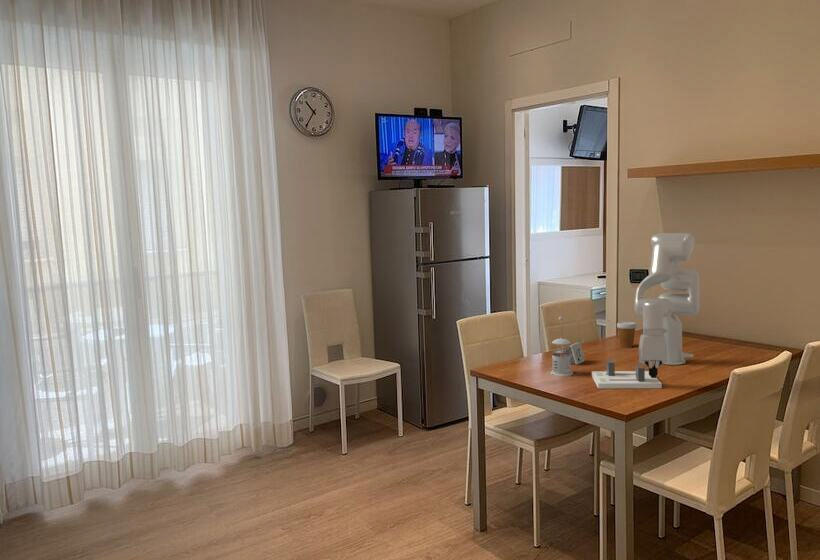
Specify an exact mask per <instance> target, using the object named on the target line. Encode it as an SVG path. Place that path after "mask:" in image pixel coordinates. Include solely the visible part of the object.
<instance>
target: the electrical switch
mask: <svg viewBox="0 0 820 560" xmlns="http://www.w3.org/2000/svg"><path fill="white" fill-rule="evenodd" d="M565 350H569V351H570V352H569V353H568V354H570V355H571V365H573V364H575V365H576V366H577V365H578V366H579V365H580V364H582V363H584V362H585V361H586V357H585V354H584V351H583V347H582V344H581V342H580V341H576V342H575V343H573V344H569V346H567V347H565Z"/></svg>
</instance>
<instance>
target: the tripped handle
mask: <svg viewBox="0 0 820 560" xmlns="http://www.w3.org/2000/svg"><path fill="white" fill-rule="evenodd" d="M635 371H636V379H637V380H638V381H645V371H646V369H645V367H644V366H643V364H635Z"/></svg>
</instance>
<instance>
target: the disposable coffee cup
mask: <svg viewBox="0 0 820 560" xmlns="http://www.w3.org/2000/svg"><path fill="white" fill-rule="evenodd" d="M616 327H617V331H618V333H617V334H618V340H619V347H621V346H623V347H622V348H626V347H629V348H633V347H634V343H635V334H636V327H637V323H636V322H634V321H619V322H617V324H616ZM632 346H633V347H632Z"/></svg>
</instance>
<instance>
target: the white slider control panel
mask: <svg viewBox="0 0 820 560" xmlns="http://www.w3.org/2000/svg"><path fill="white" fill-rule="evenodd" d="M615 366H616V365H615V362H614V359H606V371H605V370H604V371H601V370H599V371H598V370H597V371H596V370H595V371H591V377H592V380H593V381H594V384H595V385H596V387H597V389H662V388H663V387H662V385H663V384H662V382H661V381H660V380H659V379H658V377H656V378H651V377H650V376H649V370H645V381H638V380H637V379H636V370H632V371H631V370H629V371H628V370H626V371H625V370H624V371H623V370H620V371H617V370H615Z"/></svg>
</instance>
